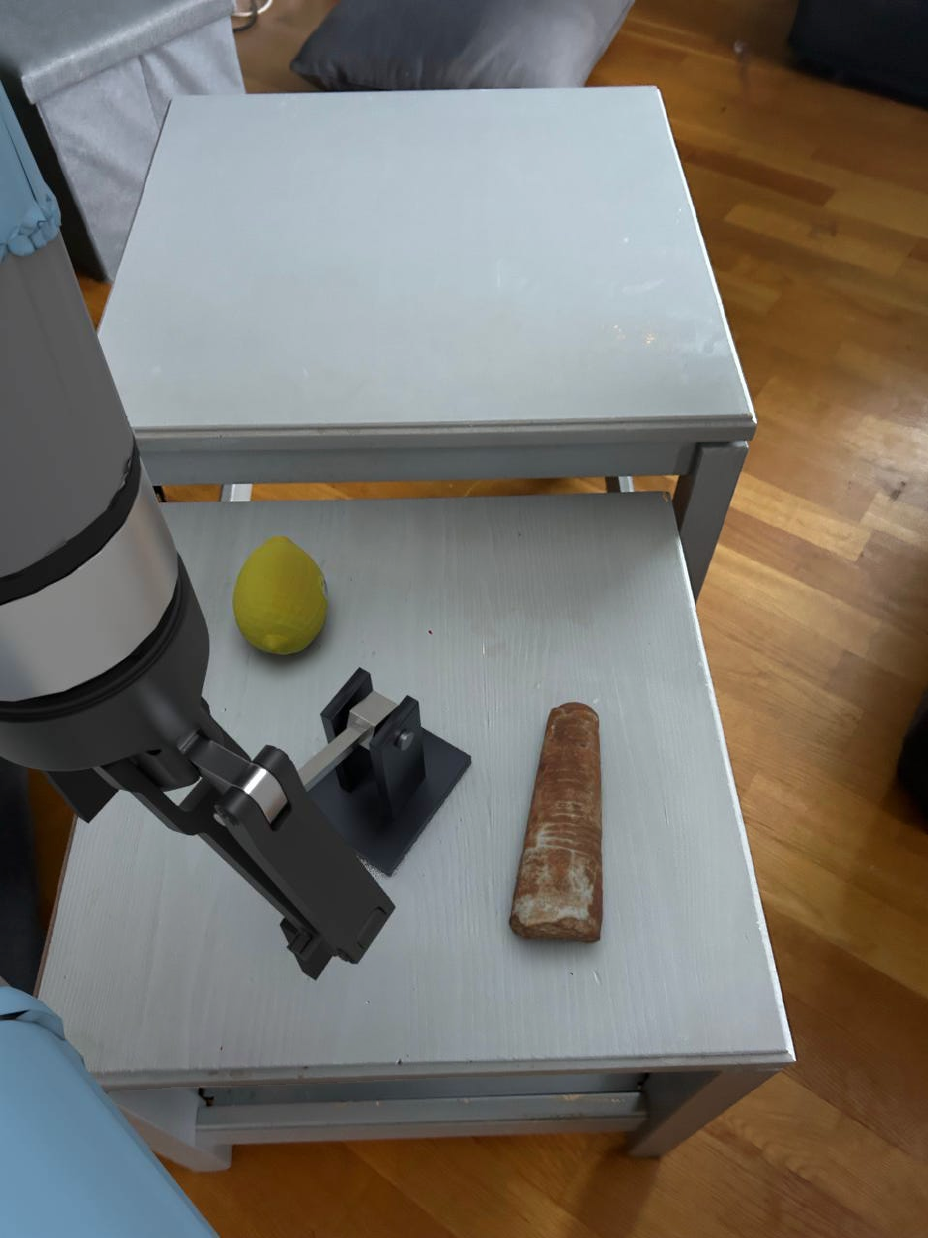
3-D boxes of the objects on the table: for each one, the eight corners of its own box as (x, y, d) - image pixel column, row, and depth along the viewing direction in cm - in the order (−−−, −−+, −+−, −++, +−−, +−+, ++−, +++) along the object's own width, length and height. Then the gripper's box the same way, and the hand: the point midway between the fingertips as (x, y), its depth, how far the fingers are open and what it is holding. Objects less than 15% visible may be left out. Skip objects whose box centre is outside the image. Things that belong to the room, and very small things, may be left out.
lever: (293, 862, 55) (297, 836, 54) (216, 810, 57) (217, 783, 56) (416, 743, 65) (422, 718, 64) (347, 701, 67) (351, 676, 66)
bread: (505, 947, 66) (507, 923, 62) (542, 712, 77) (546, 677, 72) (595, 964, 66) (603, 941, 61) (619, 724, 76) (629, 689, 72)
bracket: (390, 877, 69) (375, 806, 59) (294, 814, 72) (263, 736, 62) (471, 762, 74) (471, 679, 64) (379, 708, 77) (364, 619, 67)
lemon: (321, 681, 79) (307, 627, 72) (230, 673, 79) (208, 619, 73) (344, 577, 85) (333, 519, 78) (259, 571, 85) (241, 512, 79)
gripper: (498, 703, 25) (481, 946, 42) (-130, 365, 32) (75, 688, 50) (324, 951, 21) (384, 1105, 38) (-339, 503, 29) (-39, 801, 46)
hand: (210, 870), depth 44 cm, fingers open, 13 cm apart
